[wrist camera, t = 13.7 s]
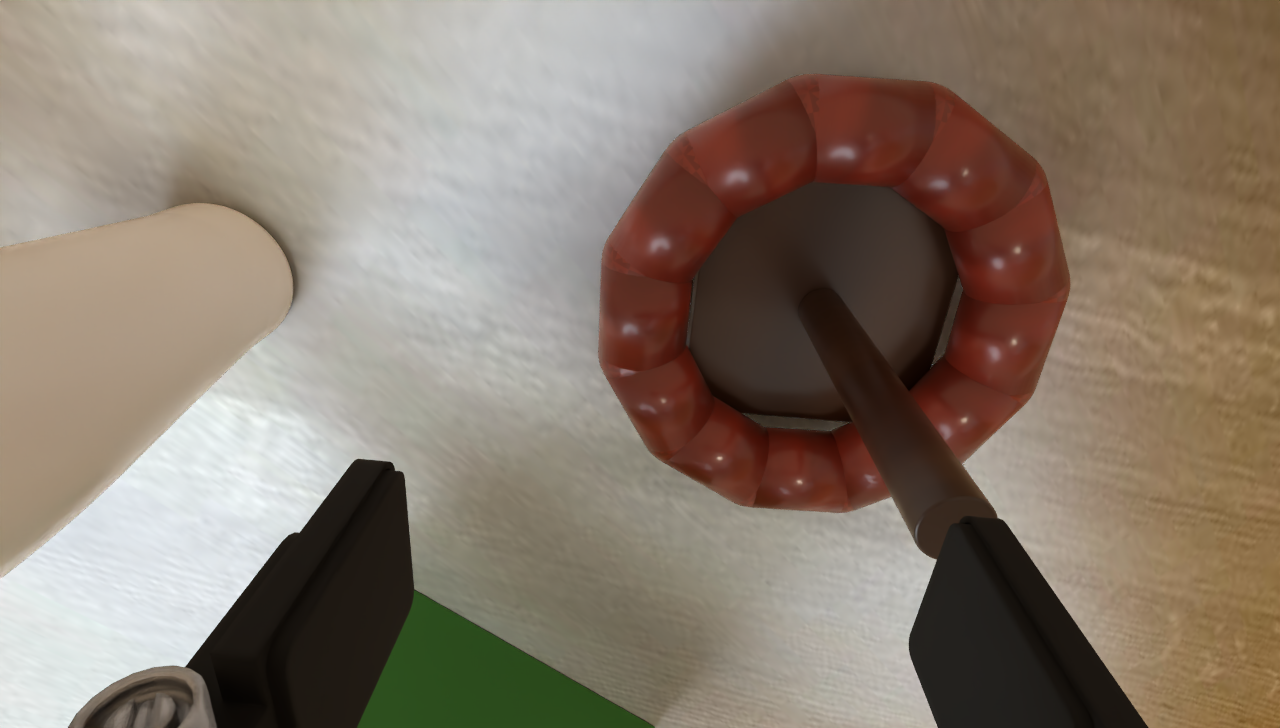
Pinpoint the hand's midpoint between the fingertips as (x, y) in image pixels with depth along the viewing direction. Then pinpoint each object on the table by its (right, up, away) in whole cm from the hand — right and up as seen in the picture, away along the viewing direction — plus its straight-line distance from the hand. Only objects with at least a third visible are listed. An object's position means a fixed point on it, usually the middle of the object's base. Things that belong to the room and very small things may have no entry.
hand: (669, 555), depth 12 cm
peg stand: (+6, +6, +14) cm, 16 cm away
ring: (+6, +5, +11) cm, 13 cm away
